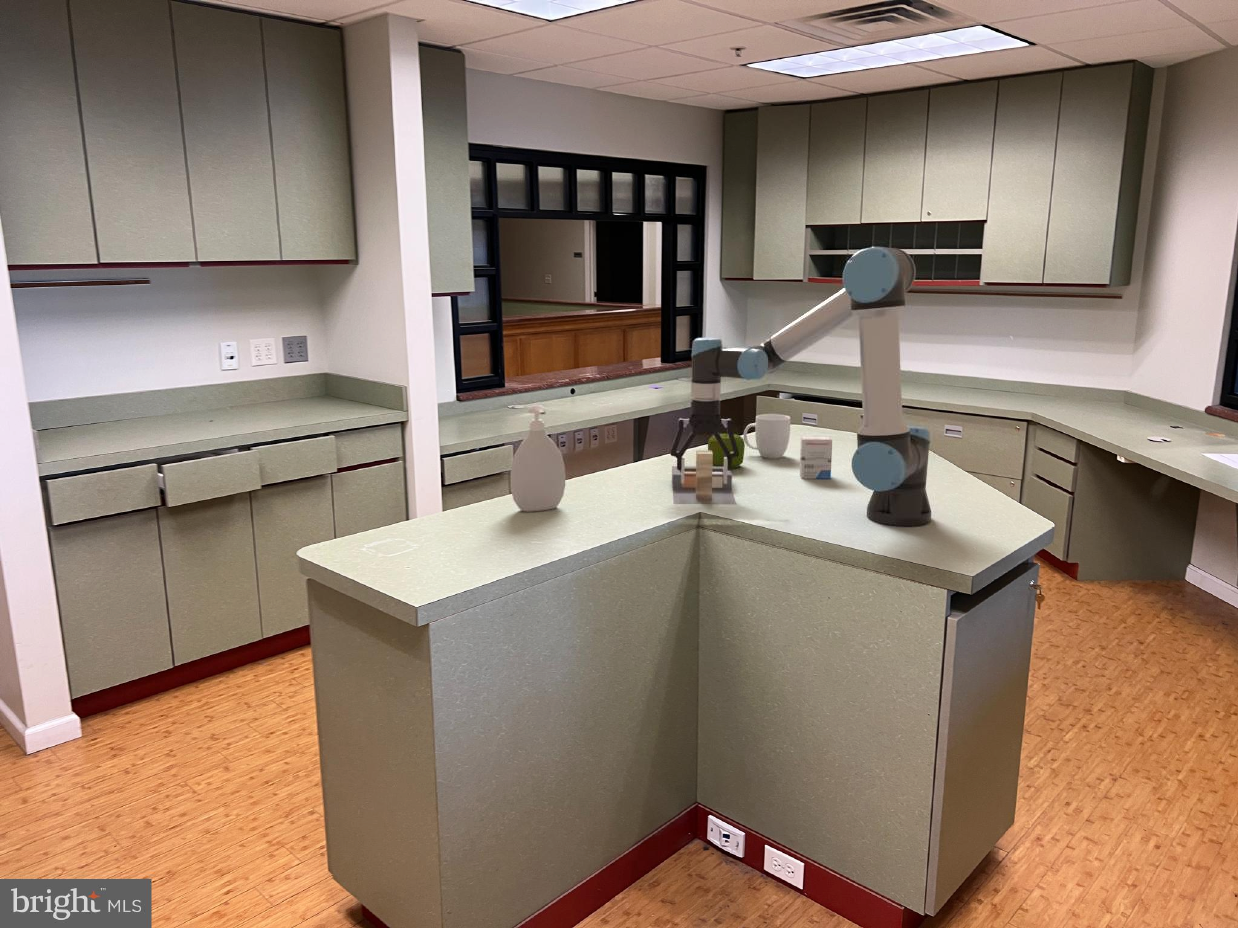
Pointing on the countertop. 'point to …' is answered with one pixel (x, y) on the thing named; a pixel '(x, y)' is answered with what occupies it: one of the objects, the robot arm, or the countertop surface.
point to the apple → (720, 454)
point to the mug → (770, 435)
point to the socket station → (687, 490)
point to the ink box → (815, 457)
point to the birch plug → (704, 474)
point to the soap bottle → (537, 469)
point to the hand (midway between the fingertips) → (703, 482)
